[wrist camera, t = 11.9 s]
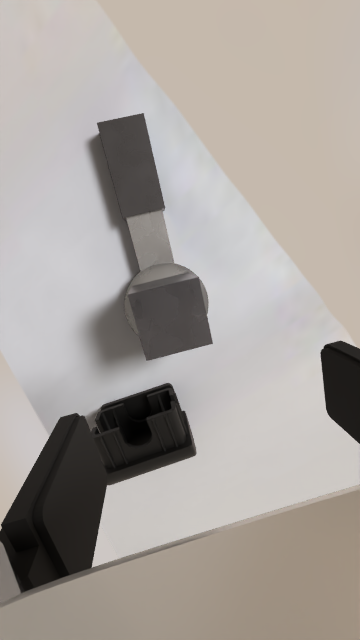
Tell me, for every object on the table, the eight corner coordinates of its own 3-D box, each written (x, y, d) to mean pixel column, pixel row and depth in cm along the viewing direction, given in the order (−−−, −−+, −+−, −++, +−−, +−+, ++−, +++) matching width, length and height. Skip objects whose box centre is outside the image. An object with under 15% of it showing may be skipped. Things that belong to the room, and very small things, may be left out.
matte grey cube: (188, 272, 27) (198, 276, 21) (199, 325, 29) (212, 343, 23) (132, 285, 27) (127, 294, 21) (147, 339, 28) (146, 360, 23)
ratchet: (212, 330, 31) (224, 344, 26) (137, 349, 30) (135, 368, 25) (168, 117, 25) (172, 84, 20) (75, 137, 24) (56, 108, 20)
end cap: (117, 452, 33) (109, 499, 27) (96, 406, 32) (82, 445, 25) (190, 426, 34) (200, 468, 27) (174, 380, 32) (181, 412, 25)
